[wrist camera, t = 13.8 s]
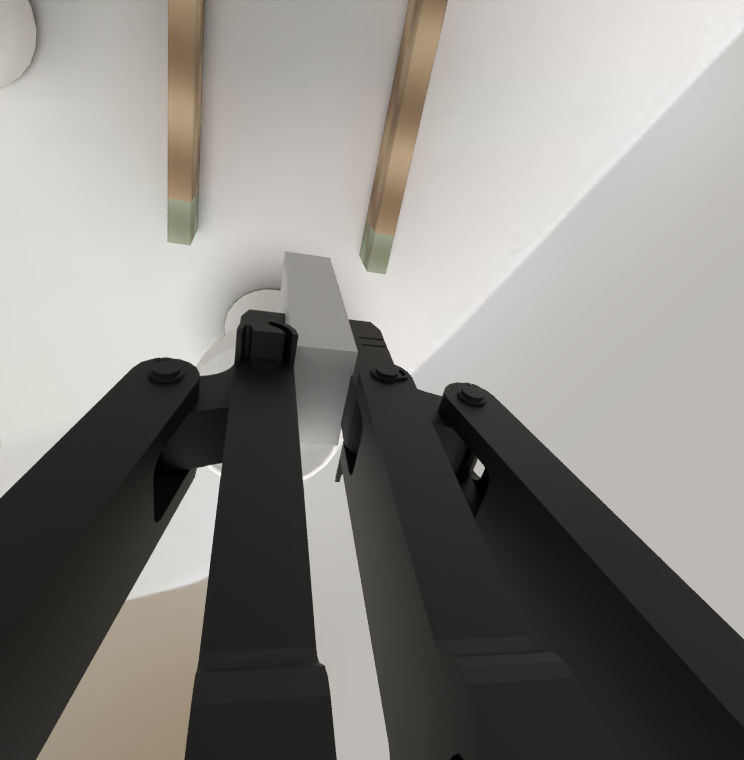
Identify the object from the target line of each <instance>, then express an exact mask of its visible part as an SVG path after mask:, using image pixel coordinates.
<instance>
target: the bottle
mask: <svg viewBox="0 0 744 760" xmlns="http://www.w3.org/2000/svg"><path fill="white" fill-rule="evenodd" d="M35 48H36V26H35V21H34V17H33V12H32V8H31V6H30V4H29V1H28V0H0V88H1V87H4V86H5V85H7V84H9V83H10V82H12V81H14V80H15V79H17V78H18V77H20V76H21V75H22V74H23V72H24V71H25V70H26V68H27V67H28V66H29V65H30V63H31V60H32V57H33V54H34V51H35Z"/></svg>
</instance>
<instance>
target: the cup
mask: <svg viewBox="0 0 744 760" xmlns="http://www.w3.org/2000/svg"><path fill="white" fill-rule="evenodd" d="M279 298H280V291H279V290H270V289H263V290H258V291H253V292H251V293H249V294H246V295H244V296H242V297H241V298H240V299H239V300H238V301H236V302H235V303H234V304H233V305H232V307H231V309H230V310H229V312H228V313H227V317H226V320H225V336H224V337H222V338H221V339H220V340H219V341H218V342H217V343H215V344H214V345H213V346H212V347H211V348H210V349H209V350H208V351H207V352H206V353H205V354H204V356H203V357H202V359H201V360H200V362H199V363H198V365H197V366H196V368H197V369H198V371H199V373H200V376H205V375H212V374H218V373H221V372H224V371H226V370H227V369H229V368H231V367H232V366H233V365H234V360H235V346H236V333H237V327H238V326H239V324H240V319H241V316H242V315H243V314H244V313H245V312H247V311H248V310H249V309H251V310H260V311H269V312H277V313H278V307H279ZM341 440H342V429H341V433H340V438H339V443H338V446H339V444H340V442H341ZM338 446H336V445H317V444H300V450H301V463H302V475H303V480H304V479H307V478H309V477H311V476H312V475H314V474H315V473H316V472H318V471H319V470H321V469H322V468H323V467H325V465H326V464H327V463H328V462H329V461H330V459H331V458H332V457H333V456H334V455H335V453H336V451H337V449H338ZM208 468H209V469H211V470H212V471H213V472H215V473H216V474H218V475H219V476H221V470H222V463H220V464H214V465H209V466H208Z"/></svg>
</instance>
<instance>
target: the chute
mask: <svg viewBox="0 0 744 760" xmlns="http://www.w3.org/2000/svg"><path fill="white" fill-rule="evenodd" d="M447 1H448V0H409V6H408V11H407V16H406V21H405V26H404V31H403V36H402V41H401V46H400V51H399V56H398V62H397V67H396V72H395V77H394V82H393V87H392V92H391V97H390V102H389V107H388V112H387V118H386V123H385V128H384V133H383V138H382V143H381V148H380V153H379V158H378V163H377V168H376V173H375V179H374V184H373V189H372V194H371V199H370V204H369V209H368V214H367V219H366V224H365V229H364V235H363V240H362V245H361V250H360V255H359V256H360V258H361V260H362V262H363V264H364V266H365V268H366V270H367V272H374V273H381V274H386V270H387V265H388V261H389V257H390V252H391V248H392V243H393V239H394V234H395V230H396V226H397V221H398V217H399V212H400V208H401V204H402V199H403V195H404V190H405V186H406V182H407V177H408V173H409V168H410V164H411V160H412V155H413V151H414V146H415V142H416V138H417V133H418V129H419V124H420V120H421V116H422V111H423V107H424V102H425V98H426V94H427V89H428V85H429V80H430V76H431V71H432V67H433V63H434V58H435V54H436V49H437V45H438V41H439V36H440V32H441V27H442V23H443V19H444V14H445V10H446V5H447ZM204 3H205V0H168V242H170V243H177V244H184V245H190V244H191V242H192V240H193V238H194V236H195V234H196V232H197V219H198V188H199V158H200V127H201V96H202V65H203V34H204Z"/></svg>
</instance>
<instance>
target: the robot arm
mask: <svg viewBox="0 0 744 760" xmlns="http://www.w3.org/2000/svg"><path fill="white" fill-rule="evenodd" d="M341 429H342V434H343V439H344V441H343V446H342V450H341V455H340V459H339V464H338V468H337V473H336V479H335V482H339V481H340V478H341V475H342V474H343V477H344V483H345V489H346V495H347V500H348V507H349V512H350V518H351V524H352V530H353V536H354V542H355V548H356V554H357V559H358V566H359V572H360V577H361V583H362V589H363V595H364V601H365V607H366V613H367V619H368V625H369V630H370V636H371V642H372V648H373V654H374V660H375V666H376V671H377V677H378V684H379V689H380V695H381V701H382V707H383V713H384V719H385V725H386V731H387V736H388V742H389V751H390V760H744V639H743V638H742V637H741V636H740V635H739V634H738V633H737V632H736V631H735V630H734V629H732V627H730V626H729V625H728V624H727V623H726V622H725V621H724V620H723V619H722V618H721V617H720V616H719V615H718V614H717V613H716V612H715V611H714V610H713V609H712V608H711V607H710V606H709V605H708V604H707V603H706V602H705V601H704V600H703V599H701V597H700V596H699V595H698V594H697V593H696V592H695V591H693V590H692V589H691V588H690V587H689V586H688V585H687V584H686V583H685V582H684V581H683V580H682V579H681V578H680V577H679V576H678V575H677V574H676V573H675V572H674V571H673V570H672V569H671V568H670V567H669V566H668V565H667V564H666V563H665V562H663V560H662V559H661V558H660V557H659V556H657V555H656V554H655V553H654V552H653V551H652V550H651V549H650V548H649V547H648V546H647V545H646V544H645V543H644V542H643V541H642V540H641V539H640V538H639V537H638V536H637V535H636V534H635V533H634V532H633V531H632V530H631V529H630V528H629V527H628V526H627V525H626V524H625V523H624V522H623V521H622V520H621V519H619V518H618V517H617V516H616V515H615V514H614V513H613V512H612V511H611V510H610V509H609V508H608V507H607V506H606V505H605V504H604V503H603V502H602V501H601V500H600V499H599V498H598V497H597V496H596V495H595V494H594V493H593V492H592V491H591V490H590V489H589V488H588V487H586V485H584V483H582V482H581V481H580V480H579V479H578V478H577V477H576V476H575V475H574V474H573V473H572V472H571V471H570V470H569V469H568V468H567V467H566V466H565V465H564V464H563V463H562V462H561V461H560V460H559V459H558V458H557V457H556V456H555V455H553V453H552V452H551V451H550V450H549V449H548V448H546V447H545V446H544V445H543V444H542V443H541V442H540V441H539V440H538V439H537V438H536V437H535V436H534V435H533V434H532V433H531V432H530V431H529V430H528V429H527V428H526V427H525V426H524V425H523V424H522V423H521V422H520V421H519V420H518V419H517V418H516V417H514V415H513V414H511V412H509V411H508V410H507V409H506V408H505V407H504V406H503V405H502V404H501V403H500V402H499V401H498V400H497V399H496V398H495V397H494V396H493V395H492V394H490V393H489V392H488V391H486V390H484V389H482V388H480V387H479V386H477V385H474V384H472V385H471V384H470V383H453V384H449V385H448V386H447V387H446V388H445V390H444V393H443V396H439V395H435V394H432V393H427V392H424V391H422V390H419V389H417V388H416V385H415V383H414V381H413V379H412V377H411V376H410V374H409V373H408V372H407V371H405V370H404V369H403V368H401V367H399V366H396V365H394V363H393V360H392V358H391V356H390V353H389V351H388V348H387V346H386V343H385V341H384V338H383V336H382V333H381V331H380V330H379V329H378V328H377V327H376V326H374V325H373V324H372V323H371V322H365V321H357V320H348V317H347V314H346V310H345V307H344V304H343V300H342V297H341V294H340V290H339V287H338V284H337V280H336V277H335V274H334V270H333V267H332V264H331V260H330V258H325V257H319V256H312V255H305V254H298V253H291V252H285V256H284V264H283V273H282V281H281V290H280V298H279V307H278V313H277V312H269V311H260V310H251V309H249V310H248V311H247V312H245V313H244V314H243V315H242V316H241V319H240V324H239V326H238V327H237V333H236V346H235V360H234V365H233V366H232V367H231V368H229V369H227V370H226V371H224V372H221V373H218V374H212V375H205V376H200V373H199V371H198V369H197V368H196V367H195V366H193V365H192V364H191V363H189V362H186V361H183V360H180V359H172V358H155V359H151V360H147V361H144V362H141V363H139V364H138V365H136V366H135V367H133V368H132V369H131V370H130V371H129V372H128V373H127V374H126V375H125V376H124V377H123V378H122V379H121V380H120V381H119V382H118V383H117V384H116V385H115V386H114V387H113V388H112V389H111V390H110V391H109V392H108V393H107V394H106V395H105V396H104V397H103V398H102V399H101V400H100V401H99V402H98V403H97V404H96V405H95V406H94V407H93V408H92V409H91V410H90V411H89V412H88V413H87V414H85V415H84V416H83V417H82V418H81V419H80V420H79V421H78V422H77V423H76V424H75V425H74V426H73V427H72V428H71V429H70V430H69V431H68V432H67V433H66V434H65V435H64V436H63V437H62V438H61V439H60V440H59V441H58V442H57V443H56V444H55V445H54V446H53V447H52V448H51V449H50V450H49V451H48V452H47V453H46V454H45V455H44V456H43V457H42V458H41V459H40V460H39V461H38V462H37V463H36V464H35V465H34V466H33V467H32V468H31V469H30V470H29V471H28V472H27V473H26V474H25V475H24V476H22V477H21V478H20V479H19V480H18V481H17V482H16V483H15V484H14V485H13V486H12V487H11V488H10V489H9V490H8V491H7V492H6V493H5V494H4V495H3V496H2V497H1V498H0V760H36V758H37V757H38V755H39V753H40V752H41V750H42V748H43V746H44V744H45V743H46V741H47V739H48V737H49V735H50V734H51V732H52V730H53V728H54V727H55V725H56V723H57V721H58V719H59V718H60V716H61V714H62V712H63V711H64V709H65V707H66V705H67V703H68V702H69V700H70V698H71V696H72V694H73V693H74V691H75V689H76V687H77V685H78V684H79V682H80V680H81V679H82V677H83V675H84V673H85V671H86V670H87V668H88V666H89V664H90V663H91V661H92V659H93V657H94V655H95V654H96V652H97V650H98V648H99V647H100V645H101V643H102V641H103V639H104V638H105V636H106V634H107V632H108V631H109V629H110V627H111V625H112V623H113V621H114V620H115V618H116V616H117V615H118V613H119V611H120V609H121V607H122V605H123V604H124V602H125V600H126V599H127V597H128V595H129V593H130V591H131V590H132V588H133V586H134V584H135V583H136V581H137V579H138V577H139V575H140V574H141V572H142V570H143V568H144V567H145V565H146V563H147V561H148V559H149V558H150V556H151V554H152V552H153V550H154V549H155V547H156V545H157V543H158V542H159V540H160V538H161V536H162V534H163V533H164V531H165V529H166V527H167V526H168V524H169V522H170V520H171V518H172V517H173V515H174V513H175V511H176V510H177V508H178V506H179V504H180V502H181V501H182V499H183V497H184V495H185V494H186V492H187V490H188V488H189V486H190V485H191V483H192V481H193V479H194V478H195V474H196V470H197V468H198V467H204V466H209V465H214V464H220V463H222V470H221V478H220V486H219V495H218V503H217V511H216V520H215V528H214V537H213V545H212V553H211V562H210V570H209V579H208V588H207V596H206V604H205V612H204V621H203V629H202V637H201V646H200V654H199V662H198V668H197V672H196V675H195V681H194V688H193V695H192V703H191V711H190V719H189V727H188V735H187V743H186V751H185V759H184V760H337V759H336V749H335V738H334V728H333V719H332V718H333V717H332V707H331V698H330V697H331V696H330V689H329V682H328V676H327V672H326V669H325V666H324V665H323V664H321V663H319V661H318V657H317V650H316V641H315V628H314V615H313V602H312V592H311V591H312V590H311V577H310V564H309V551H308V539H307V528H306V515H305V514H306V513H305V502H304V488H303V475H302V463H301V450H300V444H317V445H336V446H338V443H339V438H340V433H341ZM477 459H479V460H480V461H481V463H482V464H483V465H484V467H485V470H484V472H483V475H482V476H481V478H480V477H479V476H477V474H476V473H475V472H474V471H473V469H474V467H475V464H476V462H477Z"/></svg>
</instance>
